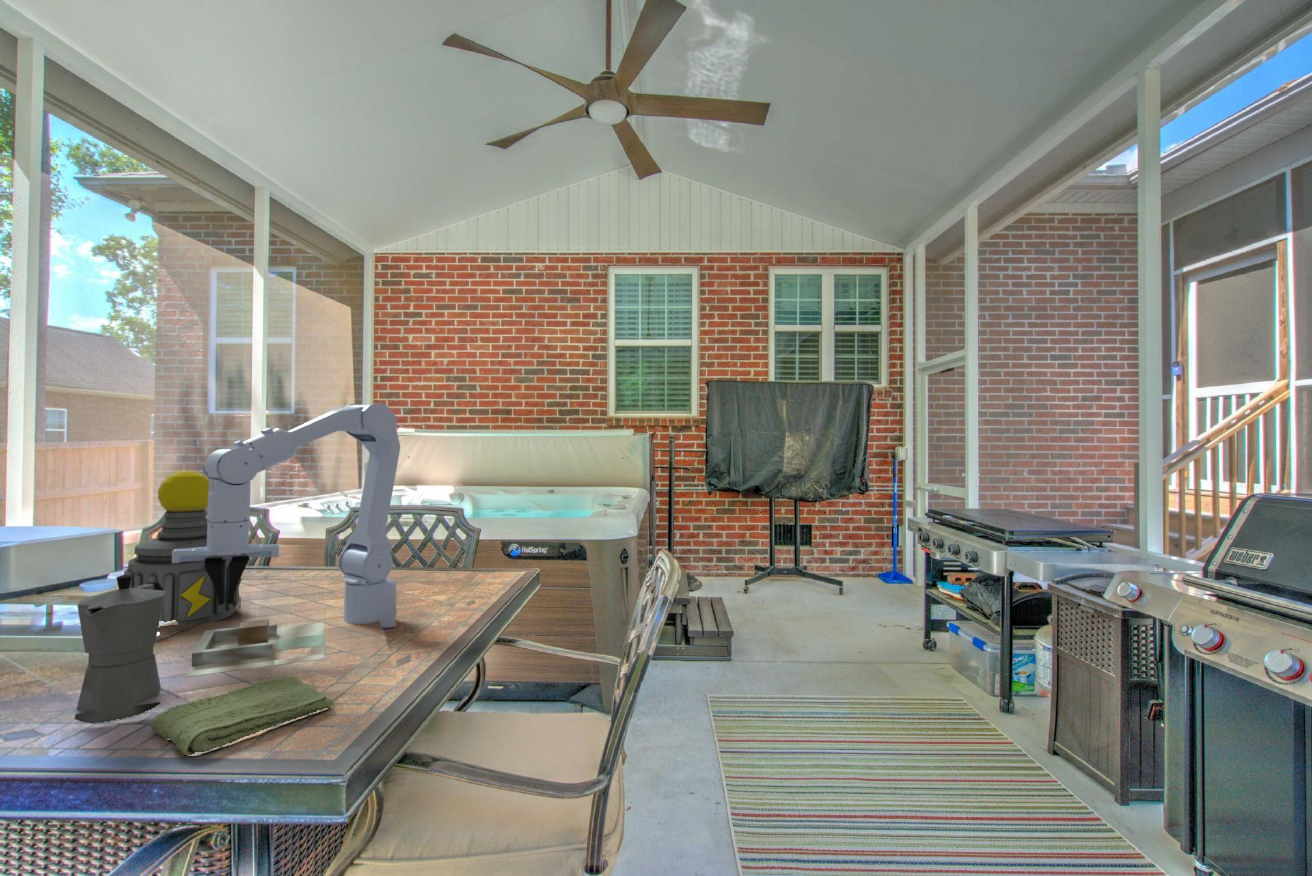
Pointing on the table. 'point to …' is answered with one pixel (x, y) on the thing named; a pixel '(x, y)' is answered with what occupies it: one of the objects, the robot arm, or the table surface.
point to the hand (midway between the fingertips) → (226, 602)
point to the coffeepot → (120, 651)
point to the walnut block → (253, 632)
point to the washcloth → (237, 713)
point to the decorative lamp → (181, 529)
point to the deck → (254, 649)
